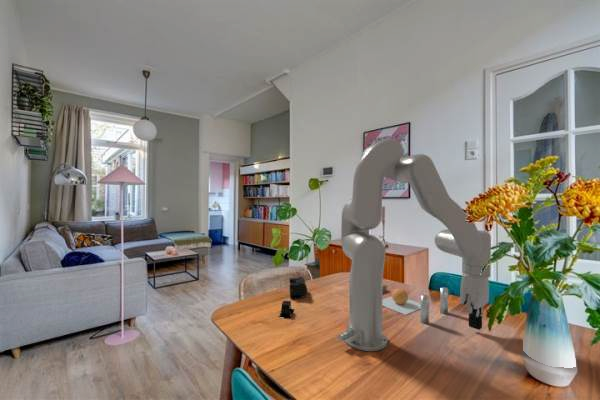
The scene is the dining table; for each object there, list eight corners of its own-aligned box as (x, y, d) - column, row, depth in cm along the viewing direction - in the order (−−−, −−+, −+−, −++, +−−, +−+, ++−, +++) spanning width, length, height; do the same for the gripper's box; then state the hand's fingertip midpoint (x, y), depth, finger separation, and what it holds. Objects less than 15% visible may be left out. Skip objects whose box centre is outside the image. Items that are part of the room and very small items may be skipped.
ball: (387, 290, 110) (391, 306, 109) (398, 290, 105) (403, 306, 104) (396, 286, 113) (400, 301, 112) (408, 286, 108) (413, 302, 107)
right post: (445, 314, 99) (446, 290, 98) (438, 312, 101) (438, 288, 101) (449, 312, 100) (449, 288, 100) (442, 310, 102) (442, 286, 102)
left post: (426, 324, 91) (426, 297, 91) (419, 321, 93) (419, 295, 93) (430, 322, 93) (430, 296, 92) (423, 319, 95) (423, 294, 94)
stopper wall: (359, 299, 113) (359, 293, 113) (356, 297, 115) (356, 291, 115) (386, 290, 124) (386, 285, 124) (383, 289, 125) (383, 283, 125)
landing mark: (405, 315, 98) (405, 314, 98) (374, 302, 110) (374, 302, 110) (426, 306, 106) (426, 305, 106) (395, 295, 118) (395, 294, 118)
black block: (293, 323, 93) (293, 310, 93) (272, 322, 94) (272, 309, 94) (298, 308, 105) (298, 296, 105) (279, 307, 106) (279, 296, 106)
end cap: (307, 299, 114) (307, 283, 113) (290, 299, 113) (290, 283, 113) (305, 290, 123) (305, 276, 123) (289, 291, 123) (289, 276, 123)
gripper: (473, 263, 93) (472, 317, 93) (452, 270, 84) (451, 329, 85) (499, 268, 87) (498, 325, 87) (479, 276, 78) (478, 339, 79)
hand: (475, 327), depth 86 cm, fingers closed
